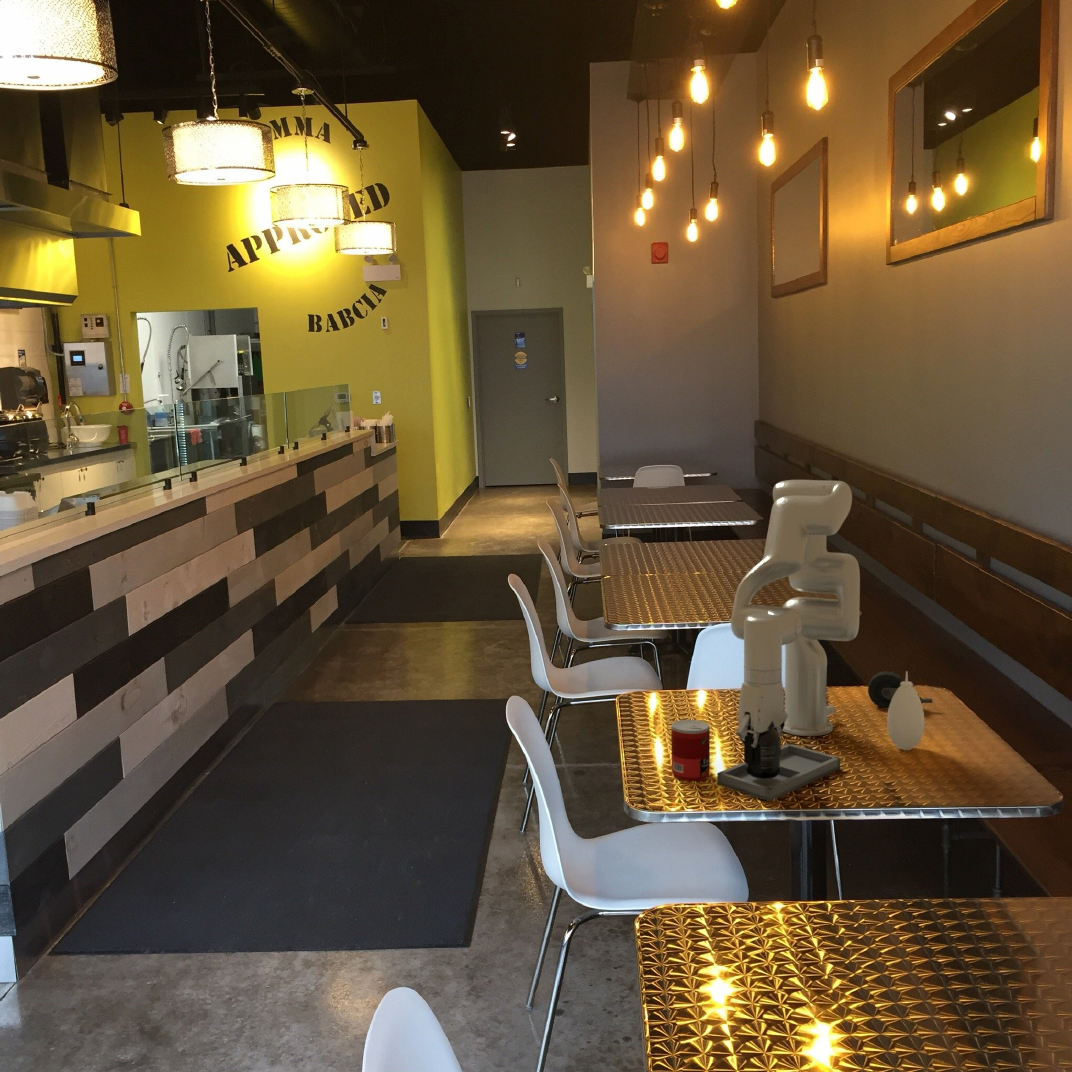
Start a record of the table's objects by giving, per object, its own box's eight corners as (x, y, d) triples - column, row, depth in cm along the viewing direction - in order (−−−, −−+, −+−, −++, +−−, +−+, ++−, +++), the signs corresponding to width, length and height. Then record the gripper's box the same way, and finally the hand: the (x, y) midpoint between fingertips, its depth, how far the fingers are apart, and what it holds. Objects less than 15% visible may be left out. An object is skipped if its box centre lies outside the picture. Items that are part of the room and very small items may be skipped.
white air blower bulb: (885, 753, 234) (887, 674, 232) (887, 741, 242) (889, 665, 239) (922, 756, 232) (925, 676, 229) (924, 745, 239) (926, 667, 236)
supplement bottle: (783, 770, 220) (783, 714, 218) (775, 781, 214) (776, 724, 212) (750, 765, 223) (750, 710, 221) (742, 777, 216) (742, 720, 215)
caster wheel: (868, 713, 266) (932, 712, 260) (865, 675, 265) (929, 674, 259) (870, 706, 271) (933, 706, 265) (867, 669, 270) (930, 668, 264)
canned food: (709, 782, 220) (708, 731, 219) (670, 780, 222) (669, 730, 220) (710, 769, 228) (710, 719, 226) (673, 767, 229) (672, 718, 228)
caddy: (788, 754, 235) (788, 743, 235) (840, 769, 226) (840, 757, 225) (717, 784, 219) (717, 773, 219) (769, 801, 209) (769, 789, 209)
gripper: (773, 663, 224) (772, 744, 226) (721, 680, 212) (721, 765, 215) (803, 669, 218) (802, 753, 221) (751, 687, 207) (751, 775, 209)
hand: (762, 758), depth 218 cm, fingers closed on supplement bottle, 6 cm apart
